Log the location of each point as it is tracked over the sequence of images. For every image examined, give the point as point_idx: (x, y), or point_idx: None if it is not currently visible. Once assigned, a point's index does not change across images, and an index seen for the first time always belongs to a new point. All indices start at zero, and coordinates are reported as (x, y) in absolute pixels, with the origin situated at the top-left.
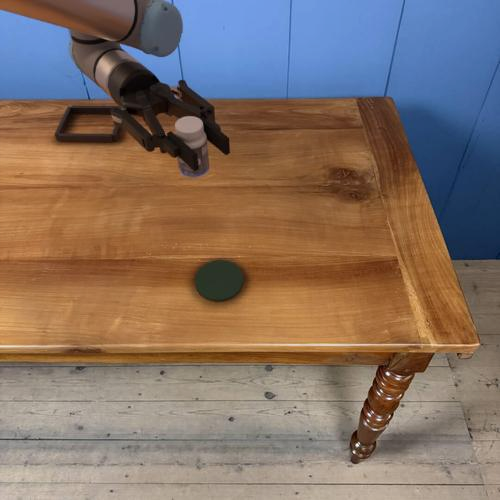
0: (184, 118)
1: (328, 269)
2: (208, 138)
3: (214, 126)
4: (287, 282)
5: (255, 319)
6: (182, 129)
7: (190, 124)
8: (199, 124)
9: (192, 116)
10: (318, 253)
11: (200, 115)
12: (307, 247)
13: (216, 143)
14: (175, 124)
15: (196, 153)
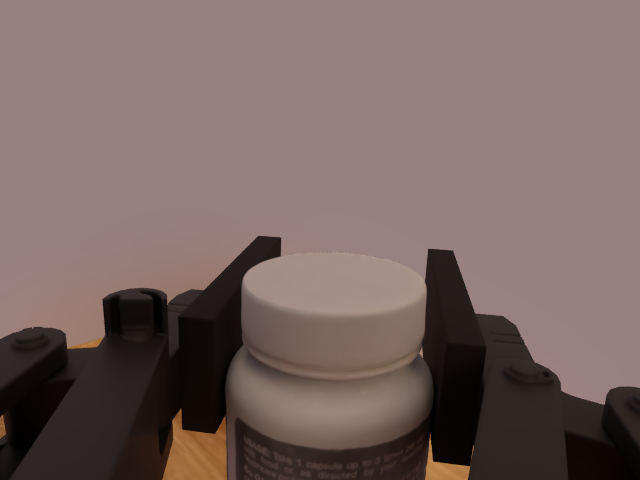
0: (310, 304)
1: None
2: None
3: (227, 268)
4: None
5: (431, 452)
6: (400, 273)
7: (328, 274)
8: (291, 260)
9: (254, 292)
10: (196, 451)
11: (167, 332)
12: (192, 473)
13: None
14: (407, 299)
15: (429, 250)
